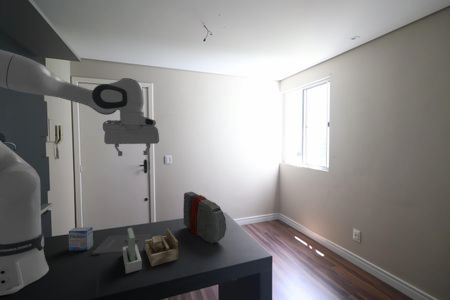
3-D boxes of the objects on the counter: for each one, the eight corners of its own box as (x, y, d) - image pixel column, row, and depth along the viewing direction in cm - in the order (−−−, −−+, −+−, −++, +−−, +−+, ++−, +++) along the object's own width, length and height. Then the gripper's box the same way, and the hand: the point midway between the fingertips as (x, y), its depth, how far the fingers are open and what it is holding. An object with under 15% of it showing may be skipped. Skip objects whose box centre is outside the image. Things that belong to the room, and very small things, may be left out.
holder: (126, 275, 75) (125, 264, 75) (123, 256, 88) (122, 247, 87) (141, 271, 78) (141, 260, 78) (136, 253, 90) (136, 244, 90)
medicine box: (68, 251, 93) (67, 231, 92) (75, 246, 97) (74, 227, 97) (87, 250, 93) (87, 230, 93) (93, 245, 97) (92, 226, 97)
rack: (151, 268, 80) (151, 247, 79) (145, 251, 92) (144, 233, 91) (178, 260, 84) (177, 241, 84) (168, 245, 97) (168, 228, 96)
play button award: (109, 235, 105) (151, 233, 107) (109, 238, 105) (151, 236, 107) (91, 253, 89) (141, 250, 91) (91, 256, 89) (141, 254, 91)
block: (130, 271, 78) (130, 238, 78) (128, 257, 87) (127, 228, 86) (135, 269, 79) (134, 237, 78) (132, 256, 88) (131, 227, 87)
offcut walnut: (155, 255, 83) (155, 249, 83) (150, 247, 89) (150, 242, 89) (163, 252, 85) (163, 247, 85) (158, 245, 91) (158, 240, 91)
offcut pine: (153, 248, 84) (153, 242, 84) (152, 241, 89) (152, 236, 89) (161, 246, 85) (161, 241, 85) (159, 240, 91) (159, 235, 90)
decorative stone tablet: (182, 191, 113) (217, 210, 91) (192, 189, 118) (229, 207, 95) (181, 226, 116) (215, 253, 93) (191, 223, 120) (227, 248, 97)
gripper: (102, 119, 79) (103, 157, 79) (159, 121, 89) (160, 154, 89) (102, 120, 84) (103, 155, 85) (156, 122, 94) (157, 154, 95)
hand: (133, 155), depth 87 cm, fingers open, 8 cm apart
